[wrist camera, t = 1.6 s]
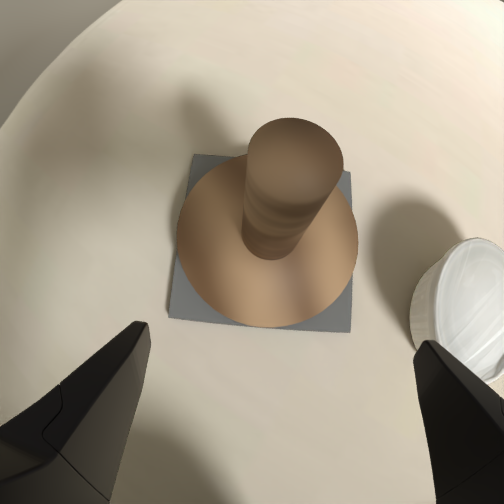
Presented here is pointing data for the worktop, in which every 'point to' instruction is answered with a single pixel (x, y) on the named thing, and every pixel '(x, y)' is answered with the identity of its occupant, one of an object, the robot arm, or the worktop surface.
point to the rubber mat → (196, 309)
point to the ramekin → (464, 306)
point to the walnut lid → (271, 228)
